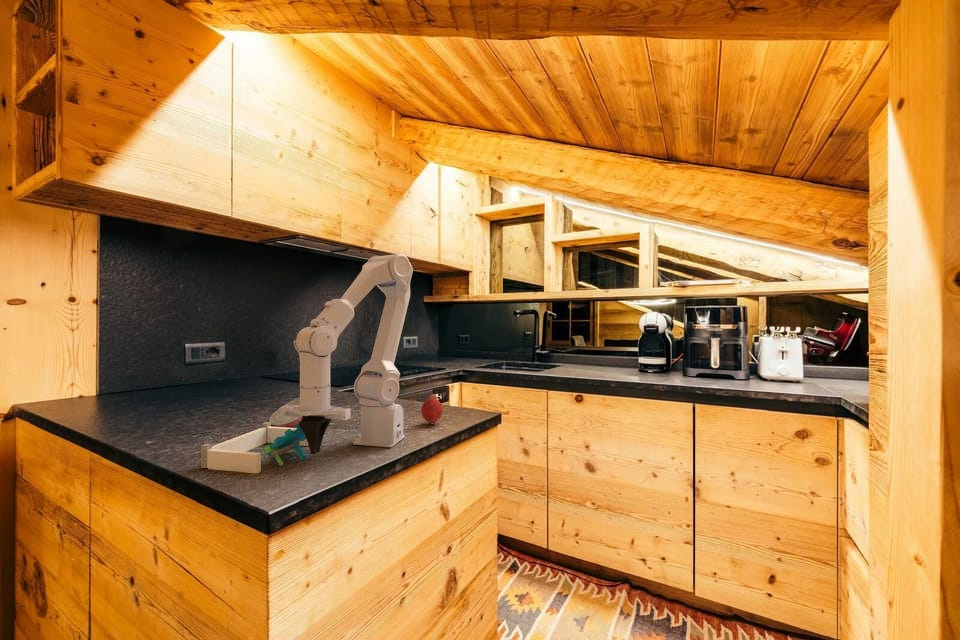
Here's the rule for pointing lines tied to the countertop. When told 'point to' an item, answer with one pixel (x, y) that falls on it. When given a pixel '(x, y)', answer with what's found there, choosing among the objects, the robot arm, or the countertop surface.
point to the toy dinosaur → (286, 444)
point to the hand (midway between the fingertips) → (315, 453)
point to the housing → (241, 450)
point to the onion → (432, 409)
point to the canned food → (287, 420)
